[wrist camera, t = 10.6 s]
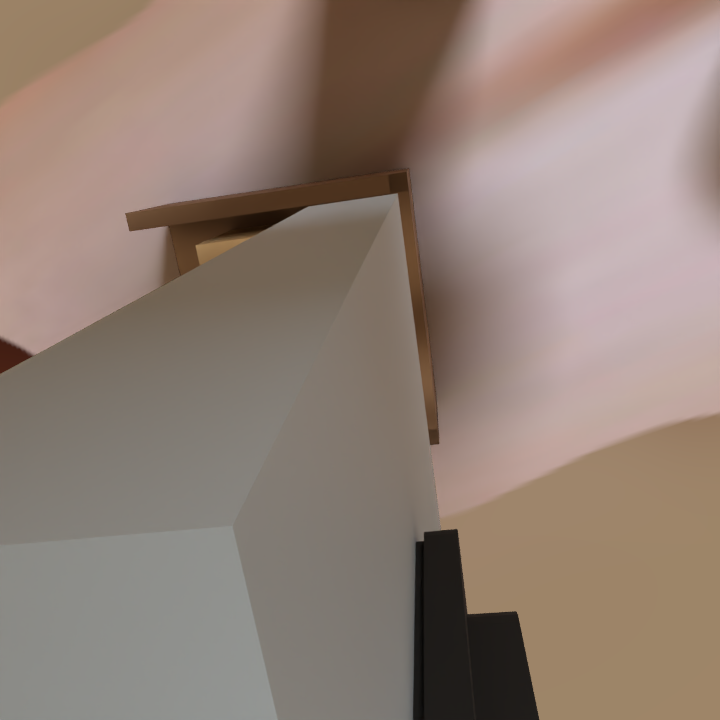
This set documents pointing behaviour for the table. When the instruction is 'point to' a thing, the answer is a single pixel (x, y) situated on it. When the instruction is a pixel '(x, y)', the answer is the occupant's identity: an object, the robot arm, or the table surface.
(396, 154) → the table surface
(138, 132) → the table surface
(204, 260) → the tall pine offcut
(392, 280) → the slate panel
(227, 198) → the walnut rack
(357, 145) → the table surface
